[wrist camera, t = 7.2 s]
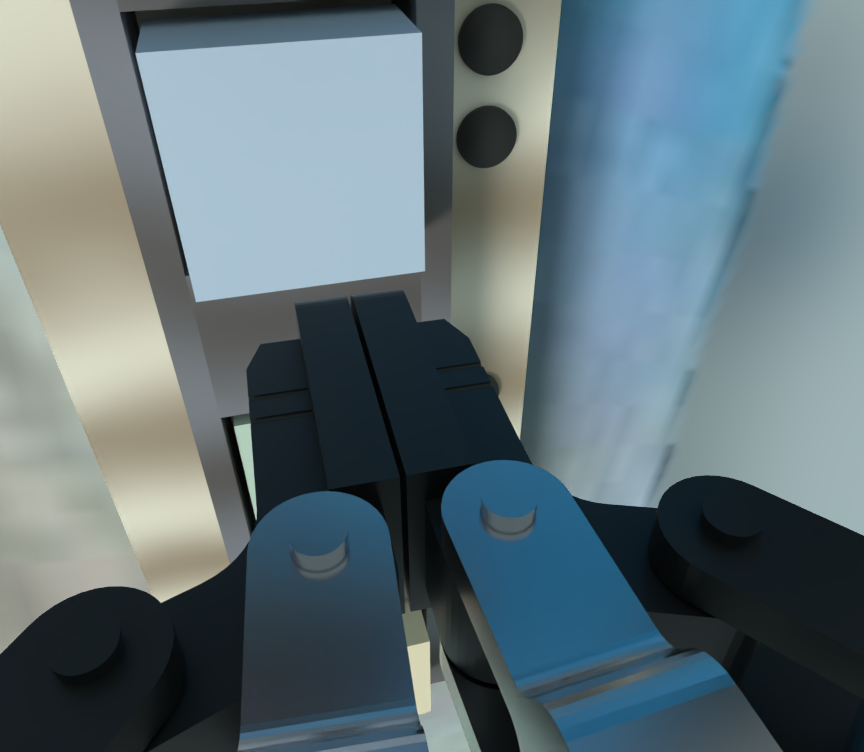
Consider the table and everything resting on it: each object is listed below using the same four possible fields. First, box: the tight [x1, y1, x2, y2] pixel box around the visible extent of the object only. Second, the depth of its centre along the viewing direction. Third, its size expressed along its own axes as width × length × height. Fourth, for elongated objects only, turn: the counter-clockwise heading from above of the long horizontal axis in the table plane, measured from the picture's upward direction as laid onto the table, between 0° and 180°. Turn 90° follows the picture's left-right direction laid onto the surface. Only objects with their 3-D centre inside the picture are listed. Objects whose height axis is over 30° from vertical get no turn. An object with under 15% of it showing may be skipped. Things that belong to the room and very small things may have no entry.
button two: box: [135, 4, 425, 302], centre depth 15 cm, size 5×5×2 cm
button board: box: [0, 0, 562, 684], centre depth 24 cm, size 30×14×6 cm, turn 0°
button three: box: [402, 599, 431, 715], centre depth 28 cm, size 5×5×2 cm
